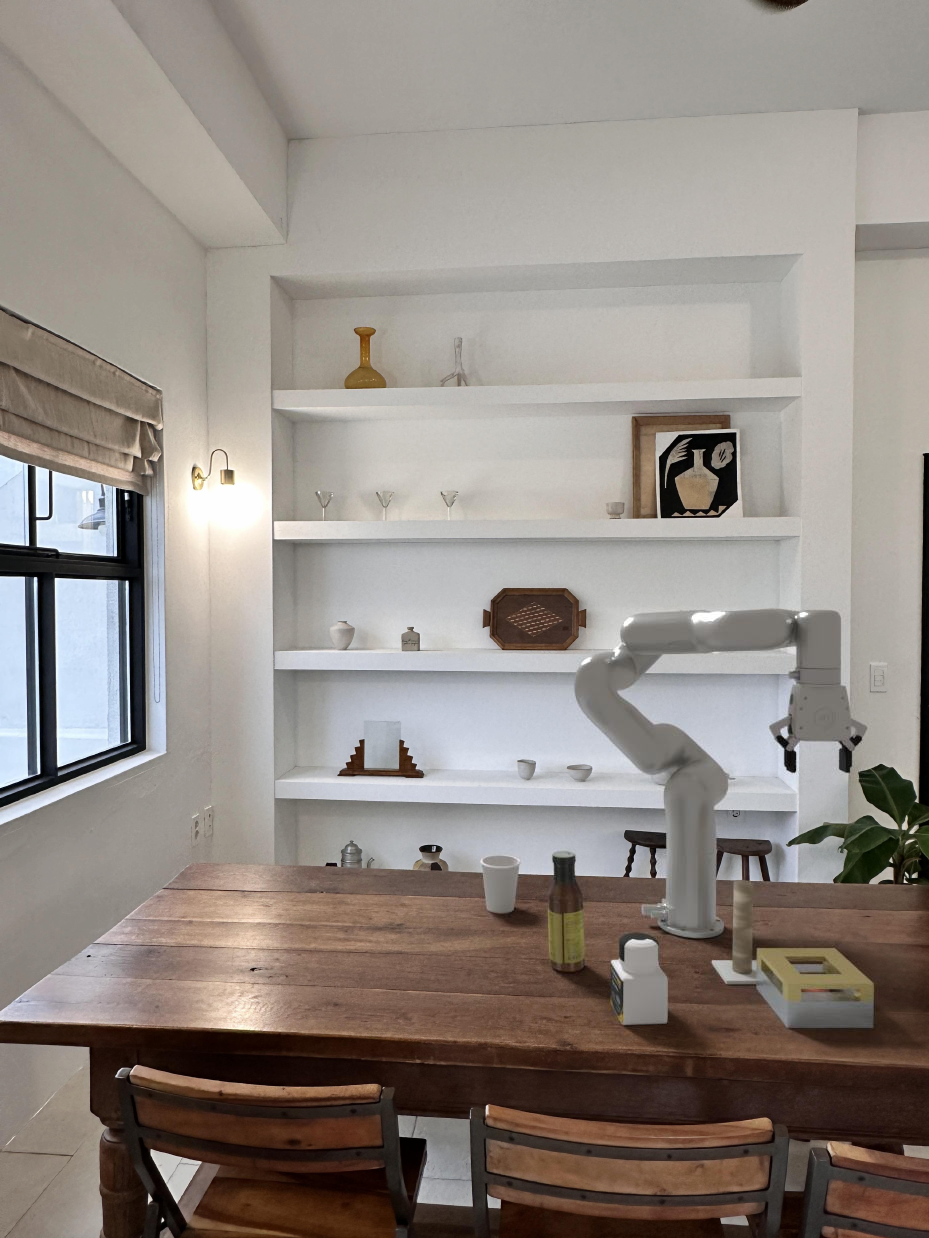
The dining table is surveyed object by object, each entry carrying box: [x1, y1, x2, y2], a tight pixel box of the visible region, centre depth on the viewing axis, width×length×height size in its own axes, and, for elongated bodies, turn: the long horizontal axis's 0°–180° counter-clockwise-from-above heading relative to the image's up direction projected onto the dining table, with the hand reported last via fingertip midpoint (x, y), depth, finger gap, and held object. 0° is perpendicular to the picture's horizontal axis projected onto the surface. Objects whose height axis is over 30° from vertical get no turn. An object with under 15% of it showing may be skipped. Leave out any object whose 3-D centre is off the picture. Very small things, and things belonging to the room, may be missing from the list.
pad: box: [711, 959, 757, 985], centre depth 145 cm, size 8×8×1 cm
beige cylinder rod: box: [732, 879, 754, 974], centre depth 145 cm, size 3×3×15 cm
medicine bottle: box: [609, 931, 669, 1026], centre depth 131 cm, size 7×7×12 cm
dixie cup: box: [480, 854, 521, 914], centre depth 176 cm, size 8×8×10 cm
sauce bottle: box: [547, 850, 586, 973], centre depth 148 cm, size 6×6×20 cm
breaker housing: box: [755, 947, 875, 1029], centre depth 133 cm, size 13×13×7 cm
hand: (817, 771), depth 153 cm, fingers open, 9 cm apart
